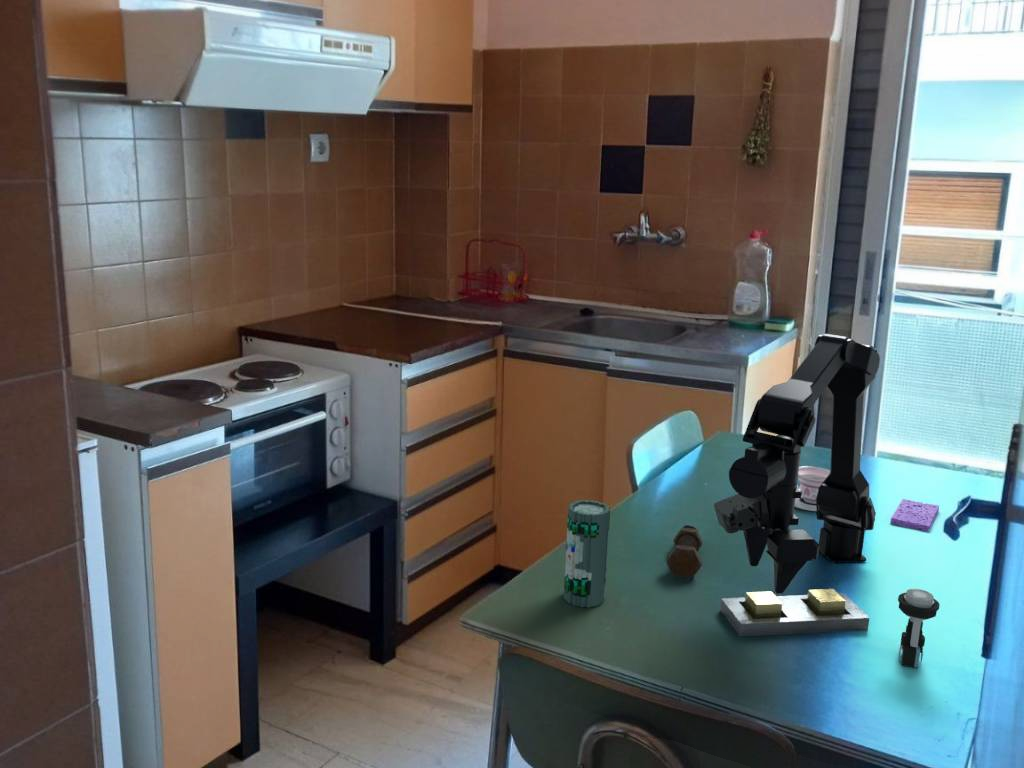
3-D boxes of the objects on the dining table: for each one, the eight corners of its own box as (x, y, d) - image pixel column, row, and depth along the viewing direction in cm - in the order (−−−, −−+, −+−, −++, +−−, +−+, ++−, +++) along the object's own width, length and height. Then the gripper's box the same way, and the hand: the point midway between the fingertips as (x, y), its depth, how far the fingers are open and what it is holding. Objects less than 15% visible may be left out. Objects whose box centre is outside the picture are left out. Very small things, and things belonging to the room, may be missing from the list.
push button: (888, 642, 143) (897, 579, 141) (927, 649, 142) (937, 585, 139) (891, 665, 137) (900, 599, 135) (932, 672, 136) (942, 606, 133)
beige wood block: (768, 615, 150) (771, 591, 149) (779, 628, 147) (782, 603, 146) (743, 616, 150) (746, 592, 149) (754, 629, 146) (756, 604, 145)
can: (557, 592, 155) (562, 502, 151) (592, 586, 157) (597, 498, 154) (575, 609, 150) (580, 517, 146) (610, 603, 152) (616, 512, 148)
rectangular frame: (842, 605, 154) (843, 593, 154) (867, 630, 147) (869, 617, 146) (720, 610, 151) (721, 598, 151) (740, 636, 144) (741, 623, 143)
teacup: (850, 500, 200) (854, 471, 199) (832, 517, 191) (836, 487, 189) (792, 487, 207) (795, 459, 205) (772, 503, 197) (775, 474, 196)
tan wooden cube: (830, 612, 152) (833, 588, 151) (842, 625, 148) (845, 600, 147) (805, 613, 151) (808, 589, 150) (817, 626, 148) (820, 602, 147)
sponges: (938, 514, 196) (939, 505, 195) (928, 534, 185) (930, 525, 185) (901, 506, 199) (902, 497, 199) (889, 526, 189) (890, 517, 188)
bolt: (692, 553, 177) (686, 586, 162) (668, 536, 177) (660, 568, 163) (711, 528, 175) (706, 559, 161) (687, 511, 175) (681, 541, 161)
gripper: (701, 459, 150) (692, 554, 154) (749, 504, 132) (738, 611, 136) (770, 458, 152) (760, 552, 156) (826, 502, 134) (813, 607, 138)
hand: (765, 579), depth 146 cm, fingers open, 9 cm apart
